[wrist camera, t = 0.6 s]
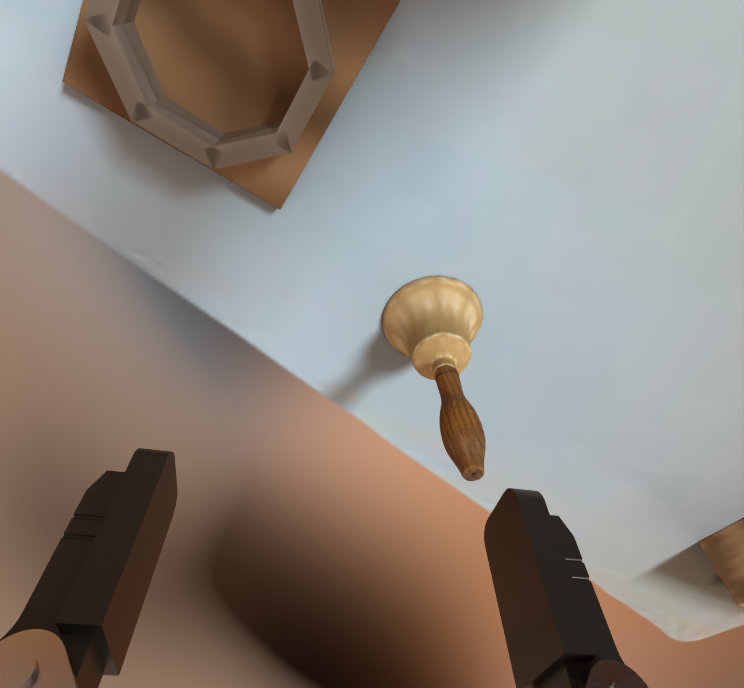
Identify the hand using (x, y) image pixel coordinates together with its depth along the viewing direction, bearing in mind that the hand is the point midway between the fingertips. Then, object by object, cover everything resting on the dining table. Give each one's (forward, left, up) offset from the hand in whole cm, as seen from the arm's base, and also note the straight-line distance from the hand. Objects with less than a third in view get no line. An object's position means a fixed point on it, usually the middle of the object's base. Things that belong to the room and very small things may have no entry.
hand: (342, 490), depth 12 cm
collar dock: (-2, -9, -26) cm, 27 cm away
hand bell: (+7, +13, -26) cm, 30 cm away
